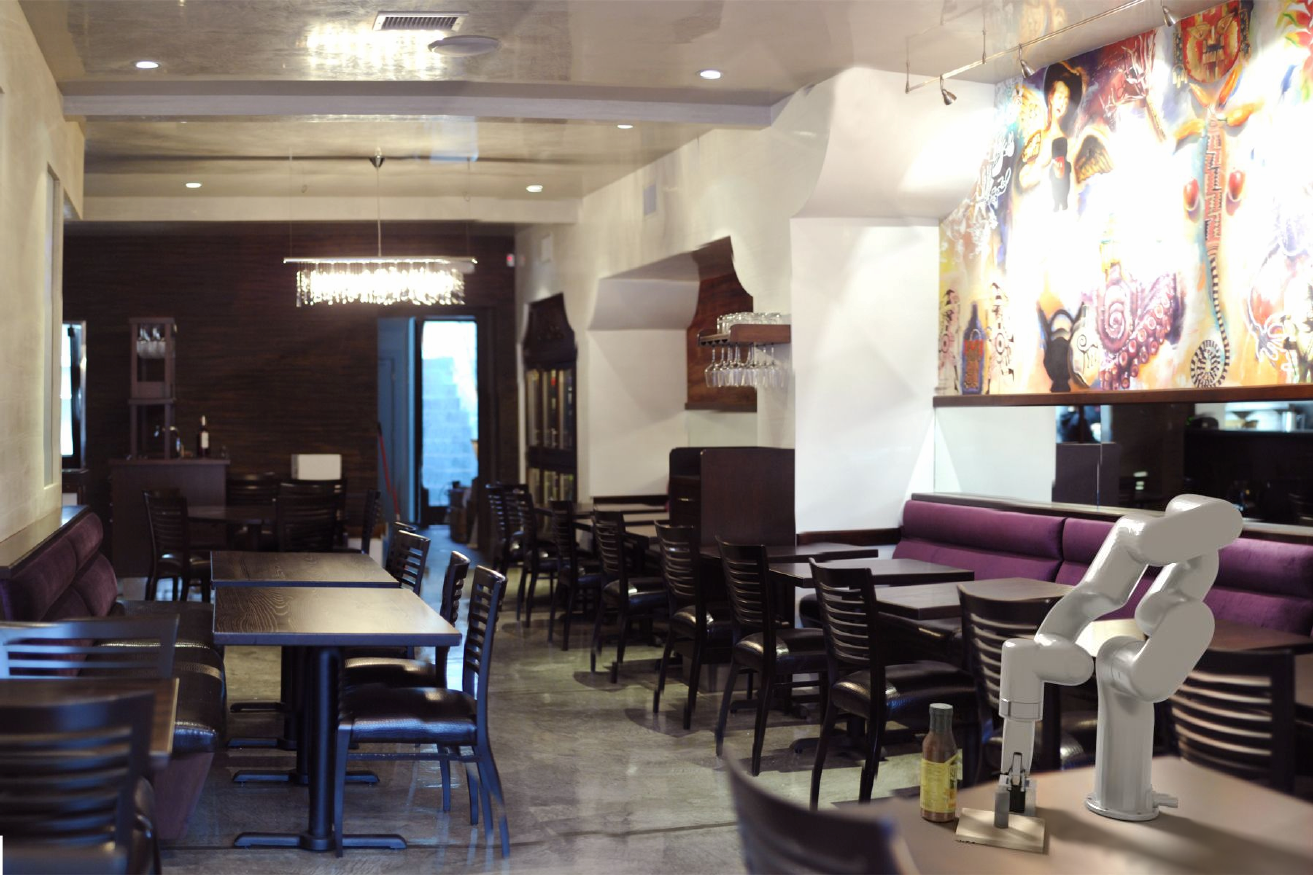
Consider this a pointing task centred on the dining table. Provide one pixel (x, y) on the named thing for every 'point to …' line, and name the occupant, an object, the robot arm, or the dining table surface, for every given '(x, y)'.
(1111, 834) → the dining table surface
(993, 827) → the post block
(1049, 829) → the dining table surface
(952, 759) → the sauce bottle
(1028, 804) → the collar
